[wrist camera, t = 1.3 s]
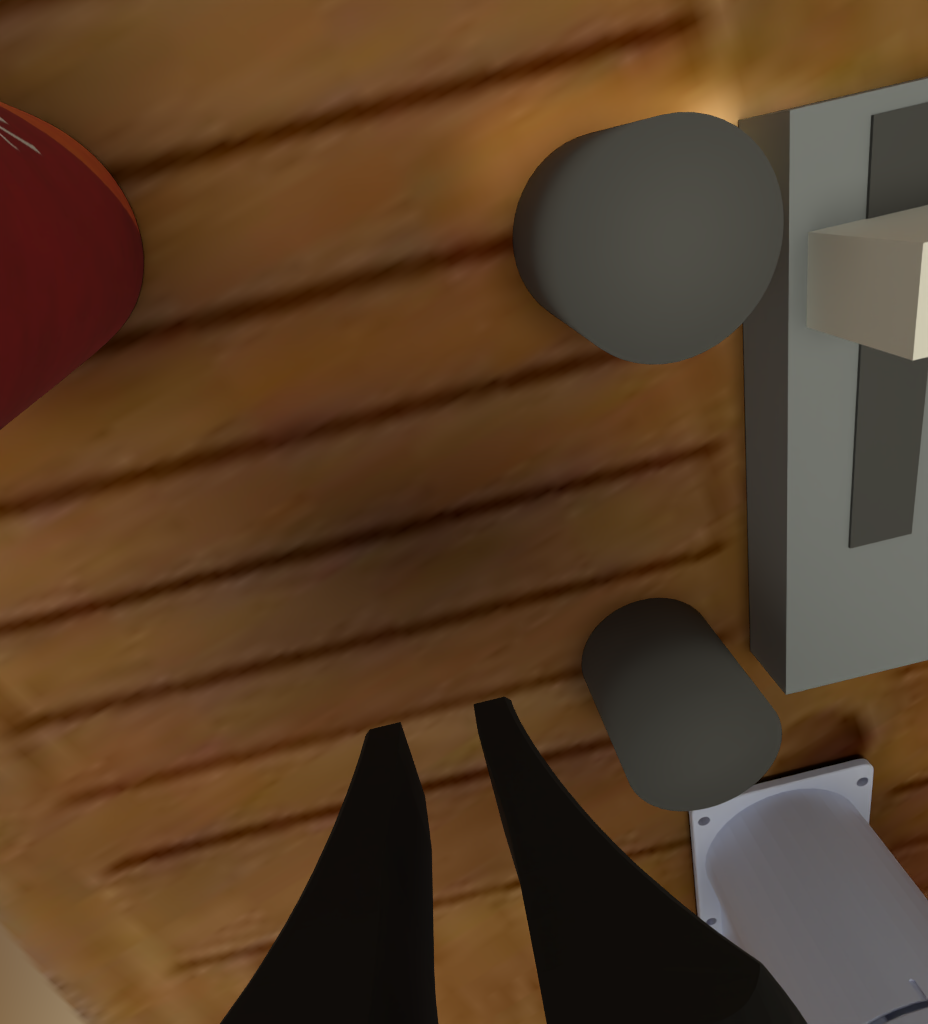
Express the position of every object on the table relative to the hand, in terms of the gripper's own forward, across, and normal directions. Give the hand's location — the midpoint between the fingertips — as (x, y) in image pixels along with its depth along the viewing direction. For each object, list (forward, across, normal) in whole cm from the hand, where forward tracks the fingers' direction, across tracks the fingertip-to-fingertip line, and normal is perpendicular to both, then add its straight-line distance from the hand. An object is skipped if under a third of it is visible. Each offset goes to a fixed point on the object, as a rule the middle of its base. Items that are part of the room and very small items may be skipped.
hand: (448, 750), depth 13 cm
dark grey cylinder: (+10, -7, +8) cm, 14 cm away
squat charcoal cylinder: (+10, -7, -8) cm, 14 cm away
